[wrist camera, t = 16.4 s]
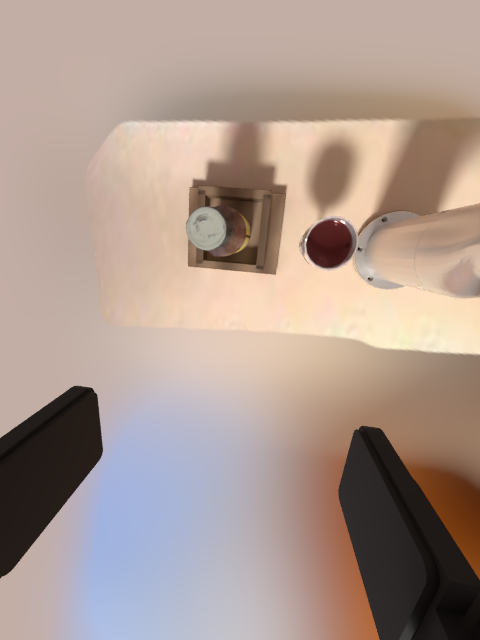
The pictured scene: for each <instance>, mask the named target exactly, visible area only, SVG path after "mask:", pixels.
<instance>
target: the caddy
mask: <svg viewBox="0 0 480 640" xmlns="http://www.w3.org/2000/svg"><path fill="white" fill-rule="evenodd" d="M285 196H286V194H281V193H272V191H270V190H255V189H240V188H226V187H211V186H198V188H193V187H190V193H189V216H190V214H191V213H192V212H193V211H194V210H196V209H197V208H199V207H204V206H209V207H215V206H220V205H226V206H228V207H230V208H233V209H234V210H236V211H237V212H238V213H239V214H241V215H242V216H243V217H244V218H245V219H246V220H247V221H248V223H249V225H250V229H251V237H250V240H249V243H248V244H247V246H246V247H245V248H244V249H242V250H241V251H239V252H236V253H234V254H231V255H228V256H214V255H212V254H211V253H210V252H209V251H206V250H201V249H199V248H197V247H196V246H195V245H193V244H192V243H191V241H190V240H189V243H188V266H190V267H201V268H211V269H222V270H232V271H243V272H253V273H264V274H274V275H276V268H277V260H278V252H279V244H280V236H281V228H282V220H283V212H284V204H285Z"/></svg>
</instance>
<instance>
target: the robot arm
mask: <svg viewBox="0 0 480 640" xmlns="http://www.w3.org/2000/svg"><path fill="white" fill-rule="evenodd" d="M382 219H383V222H382ZM358 248H360V250H359V251H358ZM353 264H354V267H355V270H356V272H357V274H358V275H359V277H360V278H361V279H362V280H363V281H364V282H366V283H367V284H369V285H371V286H373V287H376V288H379V289H387V290H389V289H397V288H401V287H404V286H408V287H412V288H416V289H419V290H423V291H427V292H431V293H434V294H438V295H442V296H446V297H451V298H458V299H471V298H478V297H480V203H479V204H474V205H470V206H465V207H461V208H456V209H451V210H447V211H442V212H438V213H433V214H428V215H424V216H420V215H418V214H415V213H413V212H408V211H395V212H390V213H387V214H384V215H381V216H379V217H378V218H376V219H374V220H373V221H371V222H370V223H369V224H368V225H367V226H366V227H365V228H364V229H363V230H362V232H361V233H360V234H359V236H358V246H357V250H356V253H355V254H354V256H353ZM368 277H369V278H370V279H369V280H368ZM102 452H103V446H102V436H101V427H100V417H99V407H98V398H97V394H96V393H95V392H94V390H93V389H92V388H89V387H82V386H74V387H72V388H70V389H69V390H68V391H66V392H65V393H63V394H62V395H60V396H59V397H58V398H56V399H55V400H53V401H52V402H51V403H49V404H48V405H46V406H45V407H43V408H42V409H41V410H39V411H38V412H36V413H35V414H34V415H32V416H31V417H29V418H28V419H27V420H25V421H24V422H22V423H21V424H19V425H18V426H17V427H15V428H14V429H12V430H11V431H10V432H8V433H7V434H6V435H4V436H2V437H1V438H0V578H1V577H2V576H5V575H7V574H8V573H9V572H10V571H11V570H12V569H13V568H14V567H15V566H16V564H17V563H18V562H19V561H20V559H21V558H22V557H23V556H24V554H25V553H26V552H27V551H28V549H29V548H30V547H31V545H32V544H33V543H34V542H35V540H36V539H37V538H38V537H39V536H40V534H41V533H42V532H43V530H44V529H45V528H46V527H47V525H48V524H49V523H50V521H51V520H52V519H53V518H54V517H55V515H56V514H57V513H58V512H59V510H60V509H61V508H62V506H63V505H64V504H65V503H66V501H67V500H68V499H69V498H70V496H71V495H72V494H73V493H74V491H75V490H76V489H77V488H78V486H79V485H80V484H81V483H82V481H83V480H84V479H85V478H86V476H87V475H88V474H89V473H90V471H91V470H92V469H93V468H94V466H95V465H96V464H97V462H98V461H99V460H100V458H101V456H102ZM339 500H340V504H341V507H342V511H343V514H344V518H345V521H346V525H347V528H348V532H349V534H350V538H351V542H352V545H353V549H354V552H355V556H356V559H357V562H358V566H359V570H360V573H361V576H362V579H363V583H364V587H365V590H366V594H367V597H368V601H369V604H370V608H371V611H372V614H373V618H374V621H375V625H376V628H377V632H378V635H379V639H380V640H480V580H479V578H478V577H477V575H476V574H475V572H474V571H473V569H472V568H471V566H470V564H469V563H468V561H467V560H466V558H465V557H464V555H463V554H462V552H461V550H460V549H459V547H458V546H457V544H456V543H455V541H454V540H453V538H452V537H451V535H450V533H449V532H448V530H447V529H446V528H445V526H444V524H443V522H442V521H441V519H440V518H439V516H438V515H437V513H436V512H435V510H434V509H433V507H432V505H431V504H430V502H429V501H428V499H427V498H426V496H425V494H424V493H423V491H422V490H421V488H420V487H419V485H418V484H417V483H416V481H415V480H414V479H413V478H412V476H411V475H410V473H409V472H408V470H407V469H406V467H405V466H404V464H403V462H402V461H401V459H400V458H399V456H398V454H397V453H396V451H395V450H394V448H393V447H392V445H391V443H390V442H389V440H388V439H387V437H386V436H385V434H384V432H383V431H382V430H381V429H380V428H374V427H368V426H361V427H360V428H359V430H355V431H354V433H353V437H352V441H351V445H350V448H349V452H348V456H347V459H346V463H345V467H344V471H343V475H342V478H341V482H340V486H339Z"/></svg>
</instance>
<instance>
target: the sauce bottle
mask: <svg viewBox="0 0 480 640" xmlns="http://www.w3.org/2000/svg"><path fill="white" fill-rule="evenodd" d="M186 231H187V235H188V237H189V240H190V241H191V243H192V244H193V245H195V246H196V247H197V248H199V249H201V250H206V251H209V252H210V253H211V254H212V255H214V256H228V255H231V254H234V253H236V252H239V251H241V250H242V249H244V248H245V247H246V246H247V244H248V243H249V240H250V237H251V229H250V225H249V223H248V221H247V220H246V219H245V218H244V217H243V216H242V215H241V214H239V213H238V212H237V211H236V210H234V209H233V208H230V207H228V206H226V205H220V206H215V207H209V206H204V207H199V208H197V209H196V210H194V211H193V212H192V213H191V214H190V216H189V218H188V220H187V223H186Z"/></svg>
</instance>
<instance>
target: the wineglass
mask: <svg viewBox="0 0 480 640" xmlns="http://www.w3.org/2000/svg"><path fill="white" fill-rule="evenodd" d="M357 246H358V234H357V231H356V229H355V227H354V225H353V224H352V223H351V222H350V221H349V220H347V219H345V218H343V217H339V216H330V217H325V218H323V219H320V220H318V221H316V222H315V223H313V224H312V225H311V226H310V227H309V228H308V229H307V230H306V232H305V234H304V236H303V237H302V238H301V240H300V244H299V249H300V252H301V254H302V255H303V256H304V258H305V260H306V261H307V262H308V263H309V264H310V265H311V266H314V267H316V268H318V269H322V270H335V269H338V268H340V267H342V266H344V265H346V264H347V263H348V262H349V261H350V260H351V259H352V258H353V256H354V254H355V253H356V250H357Z"/></svg>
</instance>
